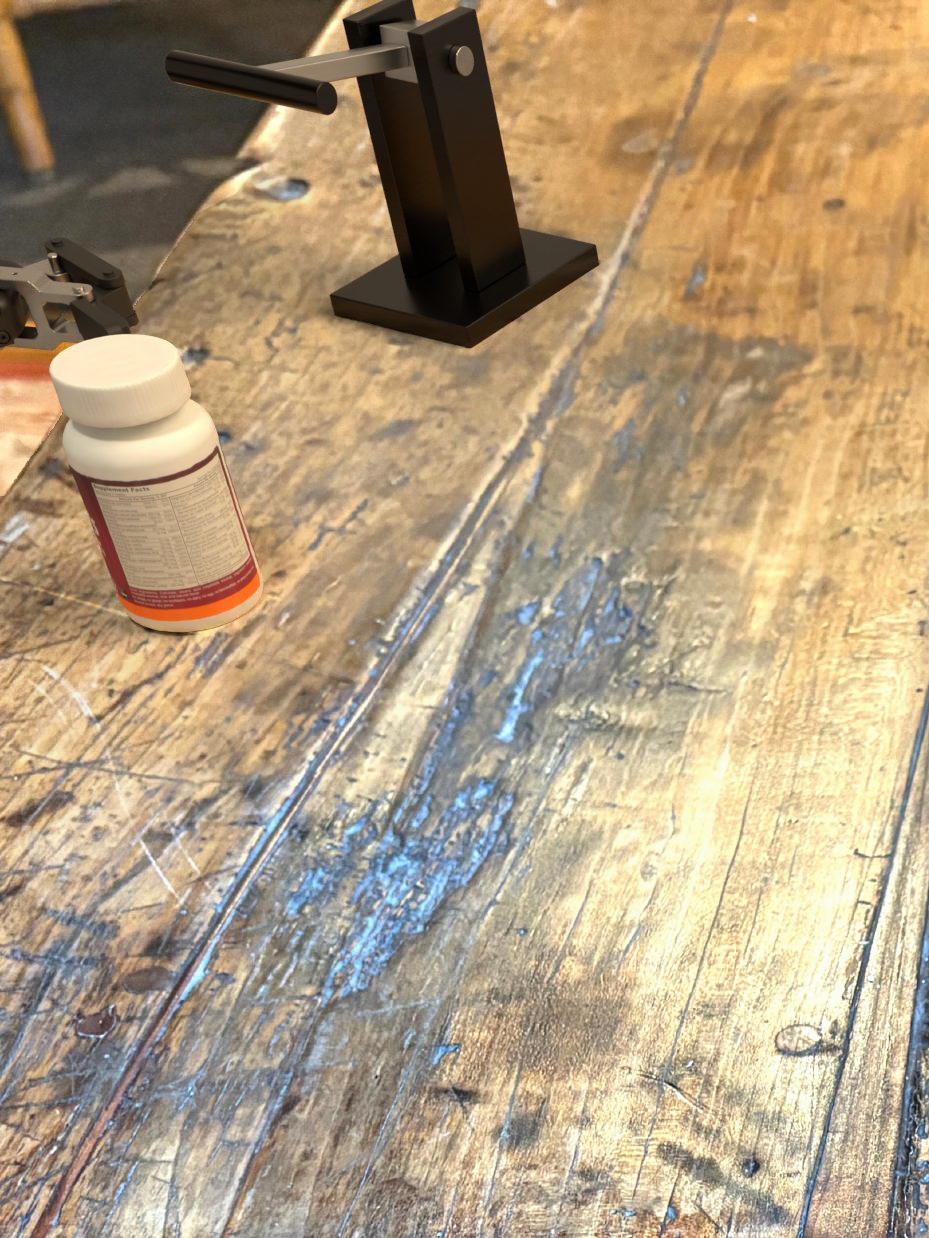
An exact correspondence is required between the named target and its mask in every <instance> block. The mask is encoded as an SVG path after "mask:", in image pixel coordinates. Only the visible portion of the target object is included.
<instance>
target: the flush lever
mask: <svg viewBox="0 0 929 1238" xmlns="http://www.w3.org/2000/svg"><path fill="white" fill-rule="evenodd" d="M416 19H417V18H416ZM416 19H414V20H408V21H402V22H396V23H391V24H385V25H380V26H379V27H380V35H381V44H379V45H374V46H368V47H363V48H357V49H351V50H349V49H346V50H341V51H336V52H329V53H323V54H318V55H311V56H306V57H301V58H296V59H290V60H289V59H288V60H284V61H279V62H273V63H267V64H262V65H255V66H254V65H250V64H246V63H245V64H244V63H241V62H235V61H231V60H226V59H222V58H221V59H220V58H216V57H211V56H208V55H202V54H198V53H193V52H187V51H183V50H178V49H173V50H170V51H169V52H167V54H166V56H165V59H164V70H165V73H166V76H167V78H168V79H170V81H172V82H173V83H175V84H179V85H182V86H183V85H184V86H189V87H193V88H198V89H201V90H206V91H211V92H215V93H220V94H225V95H230V96H235V97H239V98H244V99H248V100H254V101H257V102H261V103H262V102H264V103H268V104H271V105H272V104H273V105H276V106H281V107H286V108H290V109H295V110H298V111H299V110H300V111H304V112H309V113H314V114H318V115H324V116H331V115H332V114H334V112H336V109H337V108H338V102H339V101H338V100H339V99H338V97H339V96H338V92H337V89H336V88H335V86H334V85H333V84H332V82H333V83H334V82H337V81H344V80H348V79H354V78H356V77H359V76H365V75H370V74H375V73H380V72H385V76H386V77H389V78H394V79H398V80H403V81H408V82H413V83H418V80H417V76H416V71H415V67H414V62H413V58H412V53H411V49H410V44H409V40H408V35H407V32H408V31H410V30H412V29H414V28H416V27H418V26H421V25H423V24H425V23H427V22H428V21H425V20H421V19H417V20H416Z"/></svg>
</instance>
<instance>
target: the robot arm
mask: <svg viewBox="0 0 929 1238" xmlns="http://www.w3.org/2000/svg"><path fill="white" fill-rule="evenodd" d="M43 246H44V248H45V251H46V254H47V255H46V257H47V258H45V259H42V260H40V261H37V262H35V263H31V264H28V265H24V266H22V265H21V264H20V263H18V262H16V261H14V260H10V259H5V258H0V351H2V350H4V349H5V348H6V347H7V348H8V347H9V348H19V349H29V350H40V351H56V349H57V348H58V347H59V346H60V345H62V343H70V344H71V343H72V344H77V343H80V342H83V341H86V340H90V339H93V338H99V337H103V336H110V335H120V334H132V331H131V328H133V327H135V326H137V325H138V324H139V323H140V320H139V317H138V314H137V311H136V310H135V309H134V305H133V302H132V299H131V297H130V293H129V290H128V288H127V285H126V279H125V276H124V274H123V271H122V270H121V269H119V268H118V267H116V266H114V265H113V264H112V263H110V262H108V261H106V260H104V259H103V258H101V257H99V256H98V255H96V254H94V253H93V252H91V251H89V250H88V249H86V248H84V247H82V246H81V245H79V244H78V243H76V242H74V241H73V240H71V239H69V238H66V237H53V238H50V239H48V240H46V241H45V242H44V243H43ZM59 304H64V305H67V306H69V308H70V311H71V314H72V316H73V319H74V321H73V320H72V321H71V320H68V319H65V317H64V316H63V315H62V313H61V309H60V306H59ZM30 316H31V319H32V321H33V323H34V326H31V325H27V324H28V323H27V322H28V320H29V318H30Z"/></svg>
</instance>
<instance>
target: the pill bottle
mask: <svg viewBox="0 0 929 1238" xmlns="http://www.w3.org/2000/svg"><path fill="white" fill-rule="evenodd" d="M48 372H49V376H50V379H51V382H52V385H53V387H54V390H55V393H56V396H57V399H58V403H59V406H60V408H61V411H62V412H63V414H64V415H65V416H66V417H67V418H68V421H67V423H66V424H65V426H64V429H63V434H62V448H63V449H62V450H63V452H64V455H65V458H66V462H67V465H68V468H69V471H70V472H71V474H72V477H73V479H74V481H75V484H76V486H77V489H78V493H79V495H80V497H81V500H82V502H83V504H84V508H85V510H86V514H87V517H88V518H89V521H90V524H91V526H92V529H93V532H94V534H95V538H96V541H97V544H98V547H99V548H100V551H101V555H102V556H103V559H104V562H105V565H106V568H107V570H108V572H109V575H110V578H111V581H112V584H113V586H114V589H115V592H116V594H117V597H118V599H119V602H120V604H121V607H122V609H123V611H124V612H125V613H126V615H127V616H128V617H129V618H130V619H131V620H132V621H134V622H135V623H137V624H139V625H141V626H143V627H145V628H149V629H151V630H155V631H160V632H168V633H169V632H170V633H193V632H198V631H199V632H200V631H205V630H210V629H213V628H217V627H220V626H223V625H225V624H228V623H230V622H233V621H234V620H237V619H238V618H240V617H242V616H244V615H245V614H246V613H248V612H249V611H250V610H251V609H252V608H254V607H255V605H257V603H258V602H259V600H260V598H261V596H262V594H263V591H264V577H263V573H262V570H261V567H260V564H259V561H258V558H257V557H258V556H257V555H256V552H255V547H254V545H253V544H254V543H253V542H252V538H251V536H250V532H249V529H248V526H247V524H246V521H245V518H244V514H243V511H242V508H241V505H240V502H239V500H238V496H237V492H236V489H235V487H234V483H233V480H232V477H231V473H230V470H229V466H228V464H227V461H226V458H225V454H224V450H223V448H222V443H221V440H220V436H219V433H218V431H217V429H216V426H215V423H214V420H213V419H212V417H211V415H210V413H208V411H207V410H206V409H205V408H204V407H203V406H202V405H201V404H199V403H198V402H197V401H196V400H193V399H191V396H192V388H191V384H190V381H189V378H188V376H187V373H186V369H185V367H184V363H183V360H182V357H181V355H180V352H179V350H178V349H177V347H176V346H175V345H174V344H172V343H171V342H169V341H167V340H166V339H163V338H161V337H157V336H153V335H147V334H136V333H131V334H120V335H110V336H103V337H99V338H93V339H90V340H86V341H83V342H80V343H74V344H73V345H70V346H68V347H67V348H65V349H63V350H61V351H60V352H59V353H57V355H55V356H54V357H53V359H52V360H51V362H50V364H49V368H48Z"/></svg>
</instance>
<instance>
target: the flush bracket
mask: <svg viewBox="0 0 929 1238" xmlns="http://www.w3.org/2000/svg"><path fill="white" fill-rule="evenodd" d="M414 19H416V20H418V19H417V14H416V10H415V5H414V1H413V0H380V1H378V2H376V3H374V4H372V5H370V6H367V7H365V8H363V9H361V10H359V11H356V12H354V13H352V14H349V15H348V16H346V17H344V18H342V19H341V21H342V24H343V28H344V33H345V37H346V41H347V46H348V50H351V49H357V48H363V47H368V46H374V45H379V44H381V35H380V27H379V26H380V25H385V24H391V23H396V22H402V21H408V20H414ZM426 22H427V23H425V24H423V25H421V26H418V27H416V28H414V29H412V30H410V31H408V32H407V35H408V40H409V44H410V49H411V53H412V58H413V62H414V67H415V71H416V76H417V80H418V83H413V82H408V81H403V80H398V79H394V78H389V77H386V76H385V72H380V73H375V74H370V75H365V76H359V77H355V79H356V82H357V83H356V84H357V88H358V92H359V96H360V99H361V104H362V107H363V112H364V116H365V119H366V124H367V127H368V128H367V129H368V133H369V136H370V137H369V138H370V142H371V145H372V149H373V153H374V158H375V162H376V166H377V170H378V174H379V179H380V183H381V186H382V191H383V194H384V195H383V196H384V200H385V203H386V207H387V211H388V217H389V219H390V223H391V229H392V233H393V235H394V241H395V244H396V248H397V254H396V255H395V256H393V257H391V258H389V259H388V260H386V261H384V262H382V263H381V264H379V265H377V266H376V267H374V268H373V269H371V270H369V271H367V272H366V273H364V274H362V275H360V276H358V277H357V278H355V279H353V280H352V281H350V282H348V283H347V284H345V285H343V286H342V287H340V288H338V289H336V290H335V291H333V292H331V293H329V300H330V303H331V308H332V311H333V314H334V317H338V318H343V319H345V320H346V319H347V320H351V321H355V322H359V323H363V324H367V325H371V326H375V327H379V328H383V329H388V330H392V331H396V332H399V333H404V334H409V335H411V336H412V335H413V336H416V337H420V338H424V339H429V340H434V341H436V342H441V343H446V344H450V345H453V346H458V347H462V348H466V349H473V348H475V347H476V346H477V345H479V344H481V343H482V342H484V341H485V340H487V339H488V338H490V337H491V336H493V335H495V334H496V333H497V332H499V331H500V330H502V329H504V328H505V327H507V326H508V325H510V324H511V323H513V322H515V321H516V320H517V319H519V318H520V317H522V316H523V315H525V314H527V313H528V312H530V311H531V310H534V308H536V307H537V306H539V305H541V304H542V303H544V302H545V301H547V300H548V299H549V298H551V297H553V296H554V295H556V294H557V293H559V292H561V291H562V290H563V289H565V288H567V287H568V286H569V285H571V284H572V283H574V282H576V281H577V280H579V279H580V278H582V277H583V276H586V274H588V273H589V272H592V271H593V270H595V269H596V268H597V267H599V266H600V260H599V253H598V248H597V244H595V243H591V242H586V241H583V240H578V239H573V238H569V237H564V236H561V235H555V234H550V233H546V232H543V231H542V232H541V231H537V230H534V229H529V228H524V227H520V223H519V219H518V214H517V209H516V204H515V199H514V195H513V189H512V184H511V179H510V175H509V169H508V165H507V159H506V154H505V149H504V145H503V139H502V134H501V129H500V123H499V119H498V114H497V110H496V104H495V99H494V94H493V89H492V85H491V84H492V83H491V79H490V74H489V69H488V65H487V59H486V55H485V49H484V44H483V40H482V34H481V30H480V24H479V19H478V13H477V10H476V8H473V7H467V6H461V5H460V6H458V7H455V8H453V9H451V10H449V11H447V12H445V13H443V14H441V15H439V16H436V17H435V18H433V19H431V20H429V21H426Z"/></svg>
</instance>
